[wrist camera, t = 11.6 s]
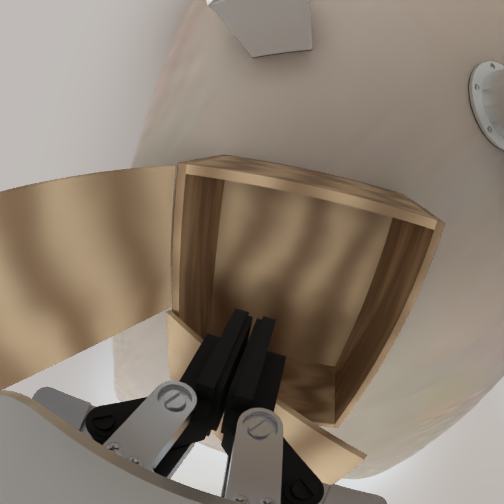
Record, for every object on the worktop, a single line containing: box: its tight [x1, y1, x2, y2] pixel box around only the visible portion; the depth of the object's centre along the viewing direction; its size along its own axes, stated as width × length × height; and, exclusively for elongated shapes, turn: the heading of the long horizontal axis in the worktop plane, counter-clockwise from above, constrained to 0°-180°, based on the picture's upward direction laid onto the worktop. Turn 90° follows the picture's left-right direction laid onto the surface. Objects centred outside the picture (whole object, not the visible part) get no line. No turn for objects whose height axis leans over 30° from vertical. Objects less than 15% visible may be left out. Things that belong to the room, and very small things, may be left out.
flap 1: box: [0, 165, 176, 390], centre depth 15 cm, size 22×14×1 cm
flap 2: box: [166, 310, 367, 485], centre depth 23 cm, size 22×14×1 cm
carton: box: [172, 155, 445, 428], centre depth 31 cm, size 22×28×12 cm
